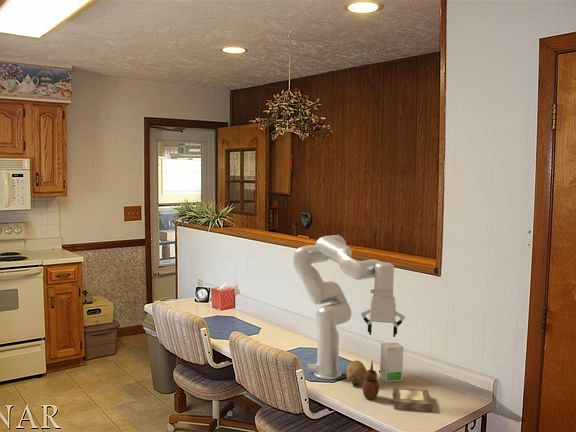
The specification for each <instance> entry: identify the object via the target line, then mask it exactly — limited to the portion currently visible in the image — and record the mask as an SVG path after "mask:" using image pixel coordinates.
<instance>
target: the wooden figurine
mask: <svg viewBox="0 0 576 432" xmlns="http://www.w3.org/2000/svg"><path fill="white" fill-rule="evenodd" d="M366 370H367V371H366V374H365V379H364V380H363V384H362V393H363V396H364V398H365V399H366V400H374V399H376V398H377V397H378V394H379V391H380V384H379V381H378V380H377V378H378V373H377V371H376V370H374V364H373V360H371V362H370V369H366Z"/></svg>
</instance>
